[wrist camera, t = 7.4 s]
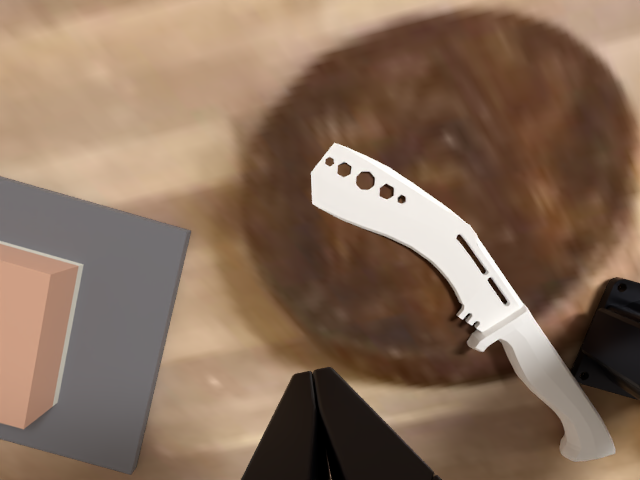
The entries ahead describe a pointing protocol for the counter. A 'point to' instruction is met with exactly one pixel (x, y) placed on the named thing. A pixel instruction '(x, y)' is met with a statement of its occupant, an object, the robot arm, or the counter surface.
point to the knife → (465, 287)
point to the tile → (33, 330)
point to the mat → (100, 320)
